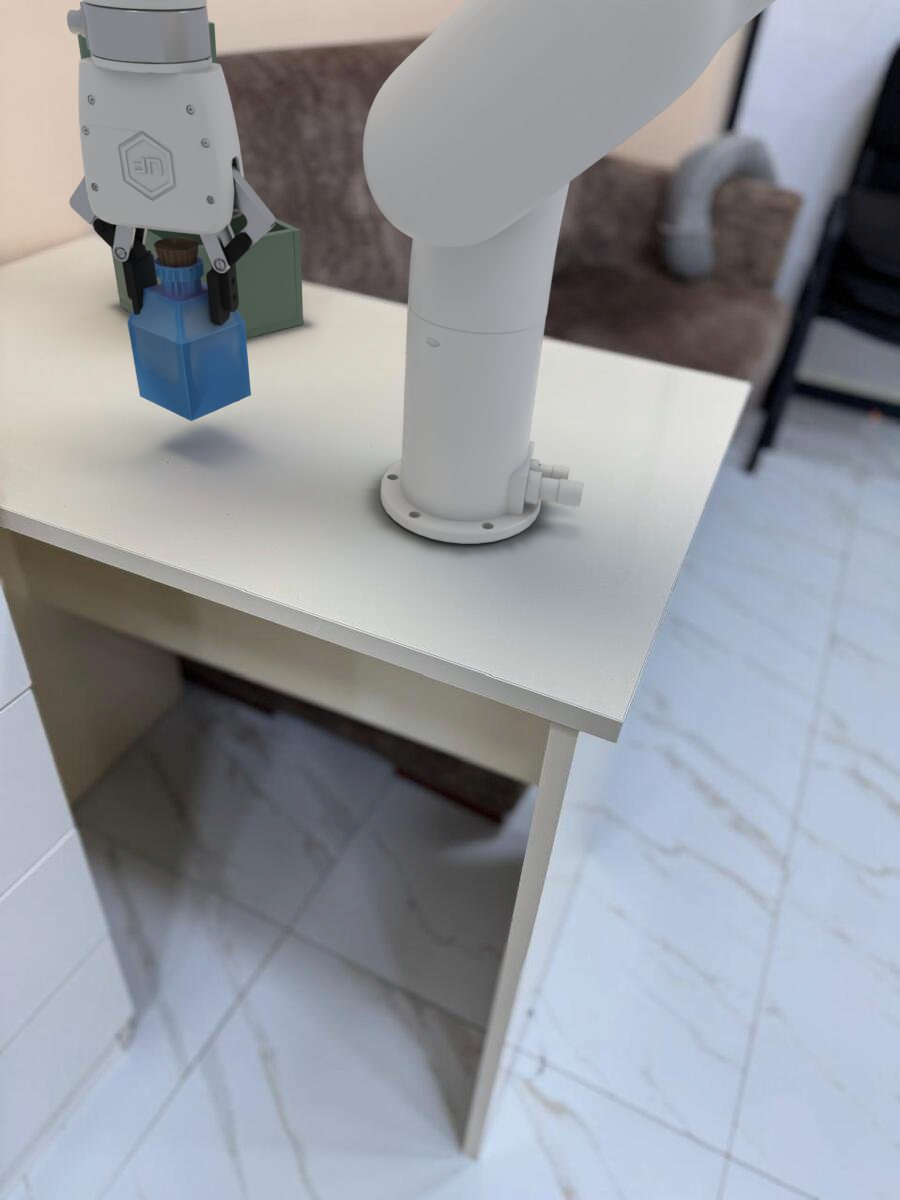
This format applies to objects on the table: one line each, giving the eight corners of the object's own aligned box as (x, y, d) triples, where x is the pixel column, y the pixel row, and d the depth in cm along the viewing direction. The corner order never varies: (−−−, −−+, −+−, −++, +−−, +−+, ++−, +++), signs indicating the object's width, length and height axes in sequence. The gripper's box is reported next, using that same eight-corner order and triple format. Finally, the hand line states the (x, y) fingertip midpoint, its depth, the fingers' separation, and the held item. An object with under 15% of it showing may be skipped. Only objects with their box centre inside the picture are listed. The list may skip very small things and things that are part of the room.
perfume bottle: (139, 396, 73) (113, 243, 65) (200, 372, 77) (181, 225, 69) (191, 421, 70) (170, 264, 63) (251, 395, 74) (237, 244, 67)
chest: (303, 324, 97) (300, 229, 91) (189, 353, 89) (177, 252, 83) (230, 282, 105) (223, 193, 99) (120, 306, 98) (104, 210, 91)
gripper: (-8, 33, 56) (55, 319, 67) (258, 58, 54) (277, 347, 66) (54, 20, 62) (102, 285, 73) (297, 42, 60) (308, 310, 71)
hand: (185, 312), depth 69 cm, fingers closed on perfume bottle, 5 cm apart
